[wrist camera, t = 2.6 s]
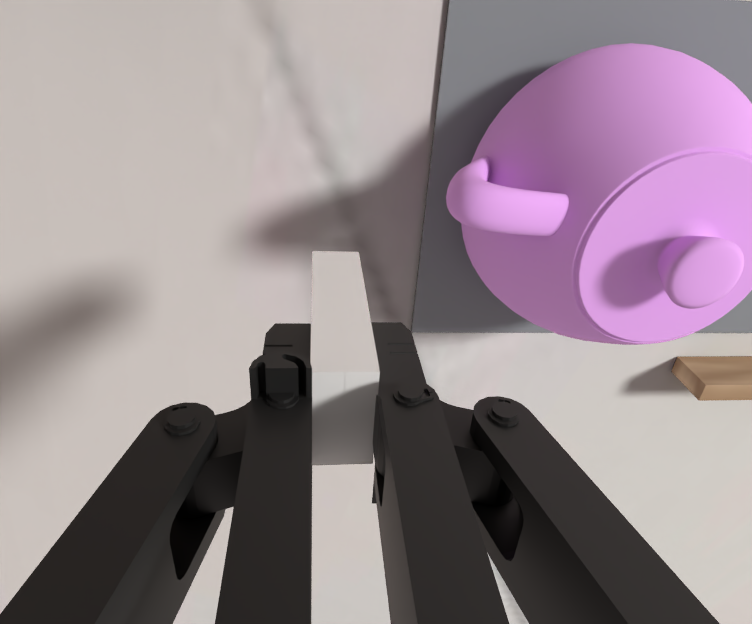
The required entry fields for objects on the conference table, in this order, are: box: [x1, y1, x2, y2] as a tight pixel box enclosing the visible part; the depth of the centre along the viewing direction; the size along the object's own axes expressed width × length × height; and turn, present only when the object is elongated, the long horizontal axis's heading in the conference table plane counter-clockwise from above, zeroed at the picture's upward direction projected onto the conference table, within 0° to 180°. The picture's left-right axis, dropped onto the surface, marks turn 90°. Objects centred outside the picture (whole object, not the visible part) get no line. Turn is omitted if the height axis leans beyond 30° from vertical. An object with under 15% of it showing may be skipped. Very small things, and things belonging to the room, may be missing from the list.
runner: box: [411, 0, 752, 333], centre depth 29 cm, size 18×34×1 cm, turn 87°
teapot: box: [446, 43, 752, 345], centre depth 24 cm, size 14×20×11 cm
